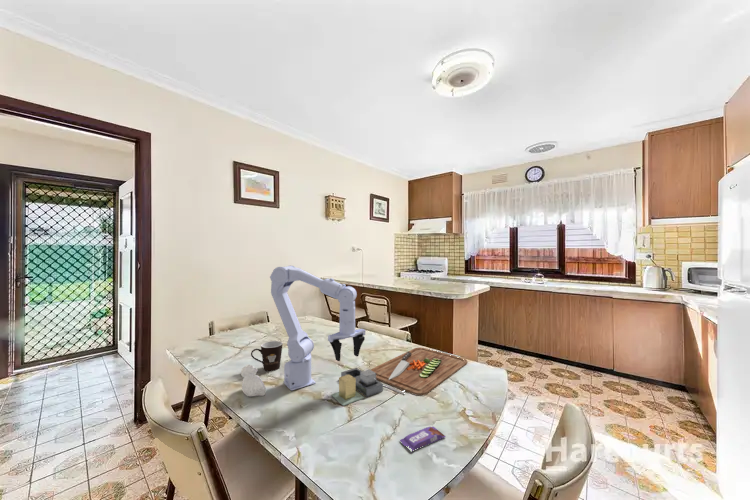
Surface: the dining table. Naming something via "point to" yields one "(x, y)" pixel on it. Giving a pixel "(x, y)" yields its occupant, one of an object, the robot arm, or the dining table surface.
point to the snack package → (422, 438)
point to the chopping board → (418, 370)
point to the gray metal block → (367, 378)
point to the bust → (252, 382)
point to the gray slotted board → (361, 388)
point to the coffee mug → (270, 355)
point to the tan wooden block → (347, 387)
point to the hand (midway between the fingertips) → (347, 357)
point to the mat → (348, 401)
